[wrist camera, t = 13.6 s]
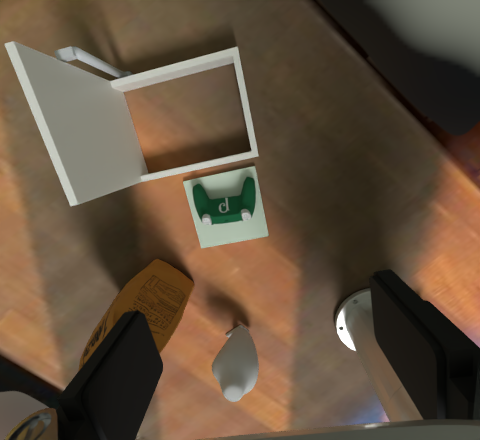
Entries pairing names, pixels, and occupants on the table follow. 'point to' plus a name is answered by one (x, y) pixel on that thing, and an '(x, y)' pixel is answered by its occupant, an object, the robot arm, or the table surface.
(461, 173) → the table surface
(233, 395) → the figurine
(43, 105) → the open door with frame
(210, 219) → the gaming controller
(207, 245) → the mat
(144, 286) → the coffee package
